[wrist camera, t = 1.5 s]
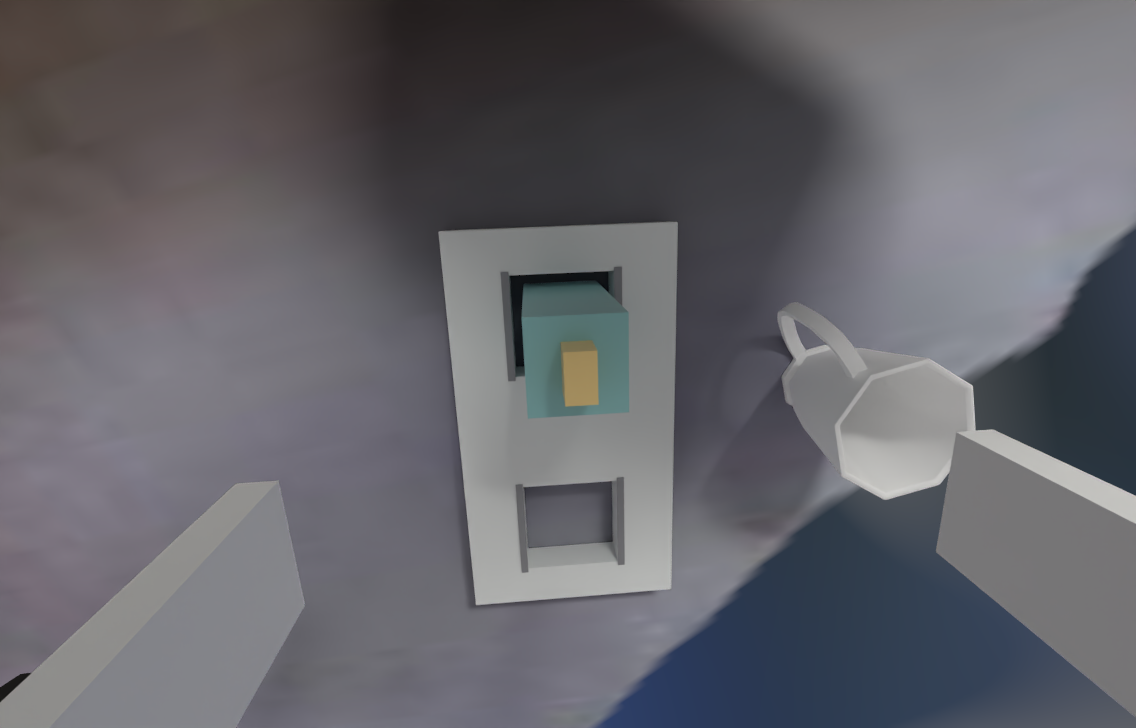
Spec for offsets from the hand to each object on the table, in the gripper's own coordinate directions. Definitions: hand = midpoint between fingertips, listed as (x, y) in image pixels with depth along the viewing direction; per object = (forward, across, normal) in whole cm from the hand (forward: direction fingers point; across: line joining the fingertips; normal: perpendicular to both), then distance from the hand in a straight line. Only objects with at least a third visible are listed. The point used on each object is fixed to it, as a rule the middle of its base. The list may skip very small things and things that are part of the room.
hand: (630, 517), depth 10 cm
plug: (+20, 0, 0) cm, 20 cm away
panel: (+20, 0, -6) cm, 21 cm away
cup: (+21, +14, -3) cm, 25 cm away
